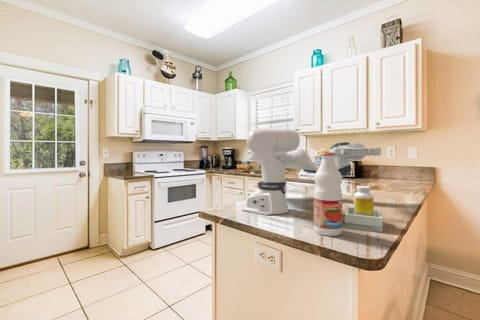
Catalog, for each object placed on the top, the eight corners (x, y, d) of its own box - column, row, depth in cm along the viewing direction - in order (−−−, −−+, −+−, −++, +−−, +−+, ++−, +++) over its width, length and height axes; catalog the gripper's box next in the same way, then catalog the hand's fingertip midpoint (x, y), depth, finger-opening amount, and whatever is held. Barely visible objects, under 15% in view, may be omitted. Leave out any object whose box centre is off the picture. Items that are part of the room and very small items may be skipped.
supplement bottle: (375, 223, 85) (376, 188, 85) (356, 222, 87) (356, 187, 86) (369, 217, 92) (369, 185, 92) (351, 217, 93) (351, 185, 93)
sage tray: (344, 227, 87) (344, 214, 87) (346, 219, 98) (346, 207, 97) (382, 232, 81) (382, 218, 81) (379, 222, 92) (380, 210, 92)
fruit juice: (324, 225, 89) (324, 152, 88) (347, 232, 82) (348, 152, 80) (308, 230, 84) (308, 152, 83) (331, 238, 76) (332, 152, 75)
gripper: (380, 157, 114) (382, 158, 102) (335, 157, 124) (332, 158, 111) (380, 145, 114) (382, 144, 102) (335, 145, 123) (332, 145, 111)
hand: (356, 151), depth 107 cm, fingers open, 8 cm apart
